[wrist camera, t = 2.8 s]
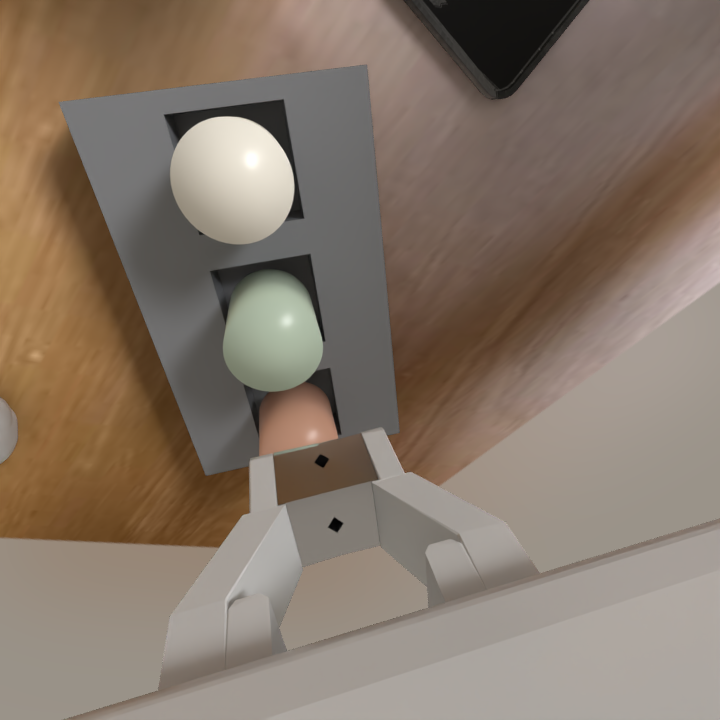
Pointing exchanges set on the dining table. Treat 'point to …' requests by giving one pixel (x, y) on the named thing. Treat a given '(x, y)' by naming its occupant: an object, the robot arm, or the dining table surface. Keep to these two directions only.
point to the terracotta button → (295, 419)
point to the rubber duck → (7, 430)
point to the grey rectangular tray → (250, 245)
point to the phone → (497, 36)
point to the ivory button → (232, 180)
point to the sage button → (271, 332)
